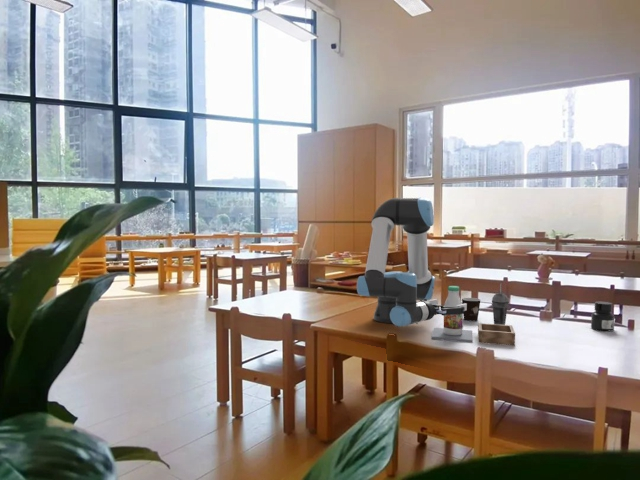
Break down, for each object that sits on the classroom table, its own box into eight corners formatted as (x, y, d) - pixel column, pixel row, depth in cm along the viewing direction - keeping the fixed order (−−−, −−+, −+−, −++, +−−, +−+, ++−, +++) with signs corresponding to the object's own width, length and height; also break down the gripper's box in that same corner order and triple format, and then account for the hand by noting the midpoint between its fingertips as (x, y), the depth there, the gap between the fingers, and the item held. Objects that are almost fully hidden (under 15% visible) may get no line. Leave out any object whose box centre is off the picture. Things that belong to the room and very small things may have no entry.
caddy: (478, 342, 188) (478, 330, 187) (477, 334, 201) (478, 323, 200) (514, 345, 184) (515, 333, 183) (511, 337, 196) (512, 325, 196)
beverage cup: (507, 325, 217) (508, 282, 216) (508, 329, 210) (509, 284, 209) (490, 324, 220) (492, 281, 218) (491, 327, 213) (492, 283, 212)
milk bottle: (440, 331, 201) (441, 285, 200) (458, 331, 202) (459, 284, 201) (447, 336, 194) (448, 288, 192) (465, 335, 194) (466, 287, 193)
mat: (431, 339, 193) (431, 336, 193) (434, 329, 208) (434, 327, 208) (472, 342, 188) (472, 340, 188) (472, 332, 203) (472, 330, 203)
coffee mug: (477, 317, 232) (478, 297, 232) (481, 322, 224) (482, 301, 223) (453, 317, 234) (454, 297, 233) (456, 321, 225) (457, 300, 224)
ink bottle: (607, 332, 205) (608, 305, 204) (586, 328, 212) (587, 302, 212) (618, 329, 210) (619, 303, 210) (597, 325, 218) (598, 300, 217)
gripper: (395, 315, 190) (425, 308, 205) (449, 326, 172) (478, 318, 187) (395, 297, 190) (425, 291, 204) (450, 306, 172) (479, 299, 186)
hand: (451, 304), depth 196 cm, fingers open, 13 cm apart
